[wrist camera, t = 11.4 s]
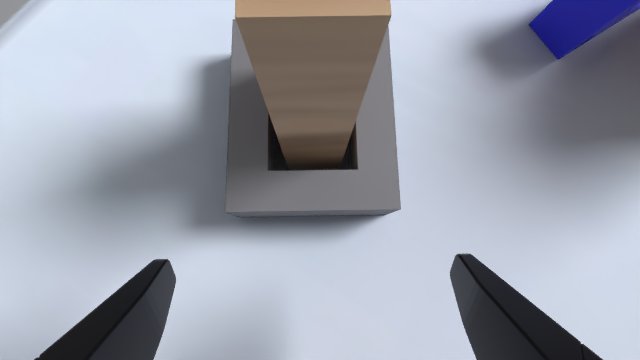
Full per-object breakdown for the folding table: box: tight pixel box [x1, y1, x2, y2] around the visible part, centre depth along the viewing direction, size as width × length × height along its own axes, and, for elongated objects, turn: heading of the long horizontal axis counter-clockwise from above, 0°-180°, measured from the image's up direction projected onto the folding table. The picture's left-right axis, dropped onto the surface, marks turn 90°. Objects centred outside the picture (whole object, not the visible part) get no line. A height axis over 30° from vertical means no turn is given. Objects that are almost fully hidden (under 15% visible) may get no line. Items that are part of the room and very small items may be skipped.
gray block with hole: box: [225, 19, 401, 217], centre depth 18 cm, size 10×8×3 cm
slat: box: [235, 0, 391, 170], centre depth 13 cm, size 5×3×13 cm, turn 2°
